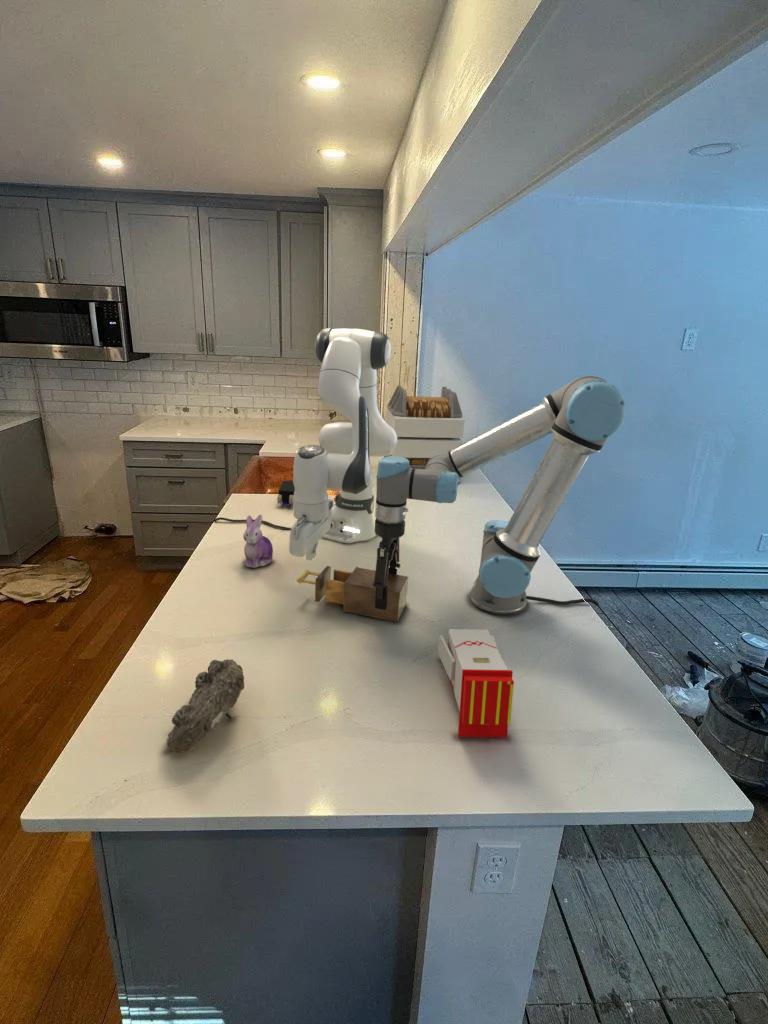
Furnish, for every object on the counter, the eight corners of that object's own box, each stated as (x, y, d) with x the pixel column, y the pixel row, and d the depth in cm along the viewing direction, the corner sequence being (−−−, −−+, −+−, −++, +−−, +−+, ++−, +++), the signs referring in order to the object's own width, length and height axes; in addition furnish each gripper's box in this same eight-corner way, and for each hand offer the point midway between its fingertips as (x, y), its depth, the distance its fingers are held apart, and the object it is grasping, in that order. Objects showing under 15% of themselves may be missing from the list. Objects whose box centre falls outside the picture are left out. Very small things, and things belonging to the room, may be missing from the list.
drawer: (294, 597, 150) (294, 574, 148) (306, 583, 158) (307, 561, 155) (363, 611, 146) (365, 588, 144) (372, 596, 154) (374, 574, 151)
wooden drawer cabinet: (343, 611, 147) (344, 582, 144) (354, 594, 156) (356, 566, 153) (397, 622, 144) (399, 593, 141) (405, 604, 152) (408, 576, 149)
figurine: (247, 571, 167) (245, 523, 162) (239, 557, 175) (236, 512, 170) (278, 566, 171) (277, 519, 166) (269, 553, 179) (267, 508, 174)
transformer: (382, 463, 289) (386, 382, 275) (445, 464, 293) (451, 384, 279) (390, 482, 257) (394, 392, 243) (460, 483, 261) (468, 394, 247)
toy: (488, 613, 130) (523, 677, 101) (484, 667, 133) (517, 744, 104) (435, 612, 130) (455, 676, 101) (432, 666, 133) (451, 743, 103)
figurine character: (294, 513, 219) (298, 496, 232) (293, 495, 215) (298, 479, 229) (276, 512, 219) (282, 496, 232) (276, 494, 215) (281, 479, 229)
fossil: (192, 660, 117) (244, 628, 112) (224, 691, 120) (276, 661, 115) (142, 746, 98) (202, 712, 93) (182, 779, 101) (242, 748, 96)
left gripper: (306, 525, 135) (307, 577, 140) (335, 498, 154) (335, 545, 159) (282, 521, 137) (283, 573, 141) (314, 495, 155) (314, 542, 160)
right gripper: (394, 537, 129) (388, 622, 137) (414, 507, 150) (409, 582, 157) (362, 532, 131) (359, 617, 139) (387, 503, 151) (382, 578, 159)
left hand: (311, 558), depth 150 cm, fingers closed
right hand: (385, 599), depth 148 cm, fingers closed on wooden drawer cabinet, 10 cm apart
